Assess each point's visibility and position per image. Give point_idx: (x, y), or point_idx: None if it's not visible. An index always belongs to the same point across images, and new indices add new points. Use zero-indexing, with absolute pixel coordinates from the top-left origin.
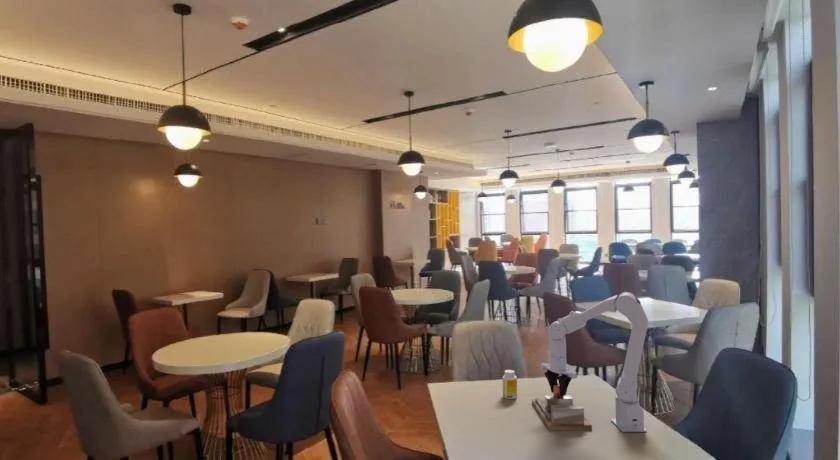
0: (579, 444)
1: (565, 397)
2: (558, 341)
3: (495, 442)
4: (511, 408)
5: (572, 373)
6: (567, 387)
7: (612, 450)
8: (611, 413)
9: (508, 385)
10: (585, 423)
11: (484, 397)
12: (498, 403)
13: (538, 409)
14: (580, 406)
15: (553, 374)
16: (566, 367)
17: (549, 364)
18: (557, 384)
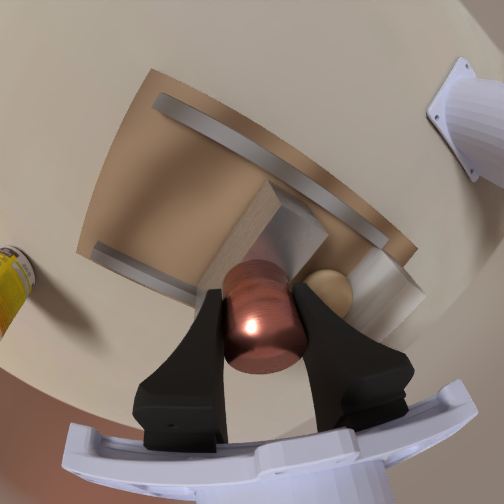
0: (406, 324)
1: (287, 259)
2: None
3: (271, 420)
4: (109, 329)
5: (449, 435)
6: (334, 314)
7: (463, 285)
8: (385, 33)
9: (10, 322)
10: (399, 255)
11: (19, 325)
12: (62, 329)
13: (188, 305)
14: (411, 293)
15: (222, 426)
16: (384, 472)
17: (132, 486)
18: (256, 352)
